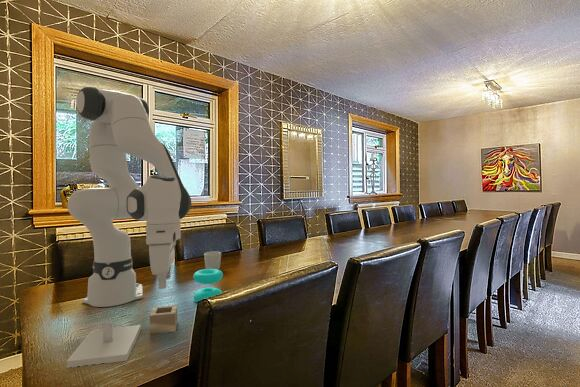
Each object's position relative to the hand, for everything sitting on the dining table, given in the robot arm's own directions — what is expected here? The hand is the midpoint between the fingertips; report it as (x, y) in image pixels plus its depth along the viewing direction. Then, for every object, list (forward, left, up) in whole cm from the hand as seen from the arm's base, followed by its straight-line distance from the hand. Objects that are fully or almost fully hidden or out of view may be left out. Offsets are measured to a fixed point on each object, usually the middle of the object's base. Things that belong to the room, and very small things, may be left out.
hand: (164, 283), depth 89 cm
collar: (-1, 0, -13) cm, 13 cm away
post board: (+7, -12, -13) cm, 19 cm away
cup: (-63, +14, -13) cm, 66 cm away
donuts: (-21, +12, -13) cm, 27 cm away
